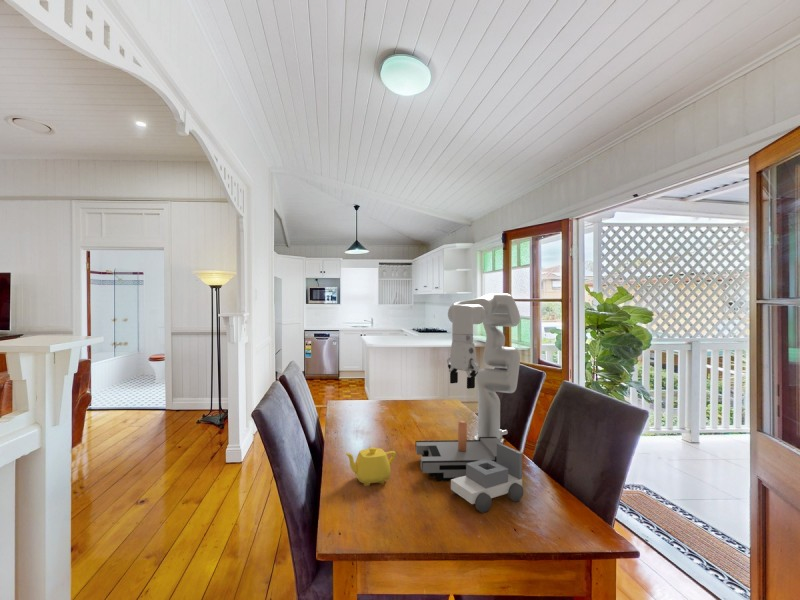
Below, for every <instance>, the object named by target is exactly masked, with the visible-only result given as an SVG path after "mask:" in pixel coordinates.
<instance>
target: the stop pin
mask: <svg viewBox="0 0 800 600" xmlns="http://www.w3.org/2000/svg"><path fill="white" fill-rule="evenodd" d="M467 424H468V423H467V421H465V420H459V421H458V423H457V425H458V428H457V429H458V431H457V433H458V435H457V436H458V437H457V438H458V439H457V440H458V450H459V451H466V445H467V440H468V439H467V438H468V437H467V434H468V433H467V432H468V430H467V428H468V427H467V426H468V425H467Z"/></svg>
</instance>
